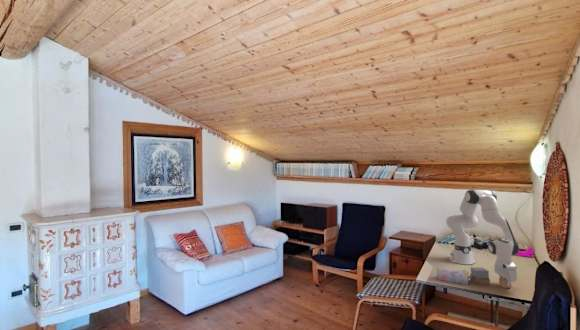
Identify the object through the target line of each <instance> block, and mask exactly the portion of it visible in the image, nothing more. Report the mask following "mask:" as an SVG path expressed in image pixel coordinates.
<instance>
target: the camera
mask: <svg viewBox="0 0 580 330" xmlns="http://www.w3.org/2000/svg"><path fill="white" fill-rule="evenodd" d="M473 247H474V248H476V249H477V250H479V251H483V248H485V249H488V243H487V242H486V241H485V242H483V241H482V240H481V238H477V237H473Z"/></svg>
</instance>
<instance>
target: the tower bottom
mask: <svg viewBox="0 0 580 330" xmlns="http://www.w3.org/2000/svg"><path fill="white" fill-rule="evenodd" d="M469 276H470V278H469V281H471V282H472V283H473V284H474V285H476V286H491V280H490V279H491V278H490V277H489V278H475V277H474V276H472V275H471V273H470V274H469Z"/></svg>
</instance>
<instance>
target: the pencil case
mask: <svg viewBox="0 0 580 330" xmlns="http://www.w3.org/2000/svg"><path fill="white" fill-rule="evenodd" d="M469 272H470V271H468V270H466V269H463V270H451V269H448V268H444V267H436V280H439V281H445V282H450V283H455V284H460V283H461V284H462V285H466V286H468V284H469V281H470V274H469Z"/></svg>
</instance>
